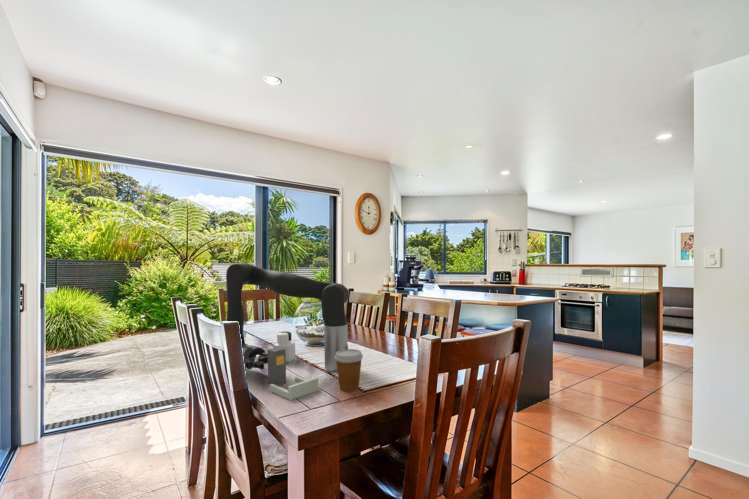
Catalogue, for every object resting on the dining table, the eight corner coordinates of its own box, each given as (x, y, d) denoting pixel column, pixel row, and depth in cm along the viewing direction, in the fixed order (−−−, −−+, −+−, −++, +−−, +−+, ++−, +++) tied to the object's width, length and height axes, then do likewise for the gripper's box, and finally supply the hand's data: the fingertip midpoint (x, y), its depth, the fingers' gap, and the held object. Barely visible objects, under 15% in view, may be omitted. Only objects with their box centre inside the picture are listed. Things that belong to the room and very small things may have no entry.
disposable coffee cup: (357, 394, 119) (357, 357, 119) (330, 392, 122) (329, 355, 122) (367, 384, 128) (366, 349, 128) (341, 382, 131) (340, 348, 131)
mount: (269, 390, 124) (269, 378, 124) (297, 381, 132) (297, 370, 132) (290, 400, 116) (290, 387, 116) (318, 389, 124) (318, 377, 124)
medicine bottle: (280, 357, 164) (279, 330, 164) (295, 357, 163) (295, 330, 163) (273, 362, 156) (272, 333, 157) (289, 362, 156) (289, 334, 156)
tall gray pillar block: (268, 383, 131) (267, 349, 131) (279, 380, 134) (278, 347, 134) (275, 386, 128) (274, 351, 128) (286, 383, 131) (285, 349, 131)
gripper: (233, 349, 138) (255, 357, 127) (267, 342, 149) (290, 349, 138) (234, 369, 138) (256, 379, 127) (268, 361, 149) (291, 369, 138)
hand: (274, 363), depth 132 cm, fingers open, 8 cm apart
